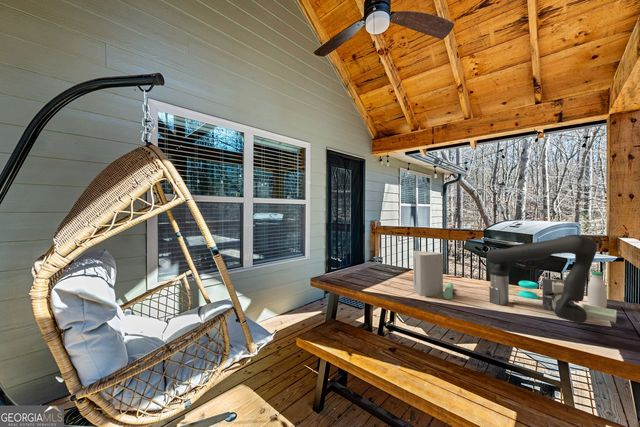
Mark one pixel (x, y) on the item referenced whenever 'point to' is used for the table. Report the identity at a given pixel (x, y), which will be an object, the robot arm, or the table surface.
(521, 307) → the table surface
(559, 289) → the grey tall block
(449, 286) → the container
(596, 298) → the milk bottle
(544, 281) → the printer bay
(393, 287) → the table surface
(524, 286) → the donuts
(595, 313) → the waste tray
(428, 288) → the tall grey box
